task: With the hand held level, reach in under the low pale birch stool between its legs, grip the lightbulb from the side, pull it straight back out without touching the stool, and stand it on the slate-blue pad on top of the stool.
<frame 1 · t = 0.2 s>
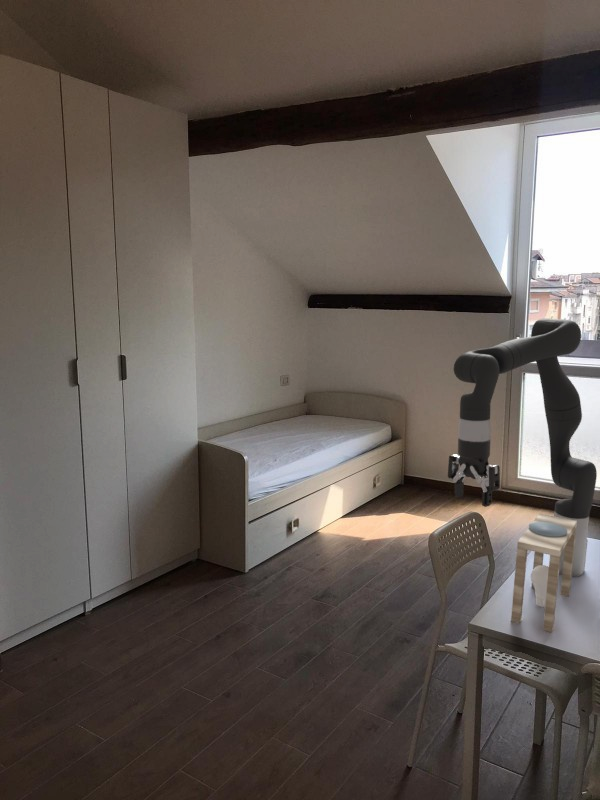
hand: (472, 501, 158), 29 cm above the table, tool pointing down, fingers open, 8 cm apart
lightbulb: (540, 607, 166), on the table
stool: (540, 606, 166), on the table
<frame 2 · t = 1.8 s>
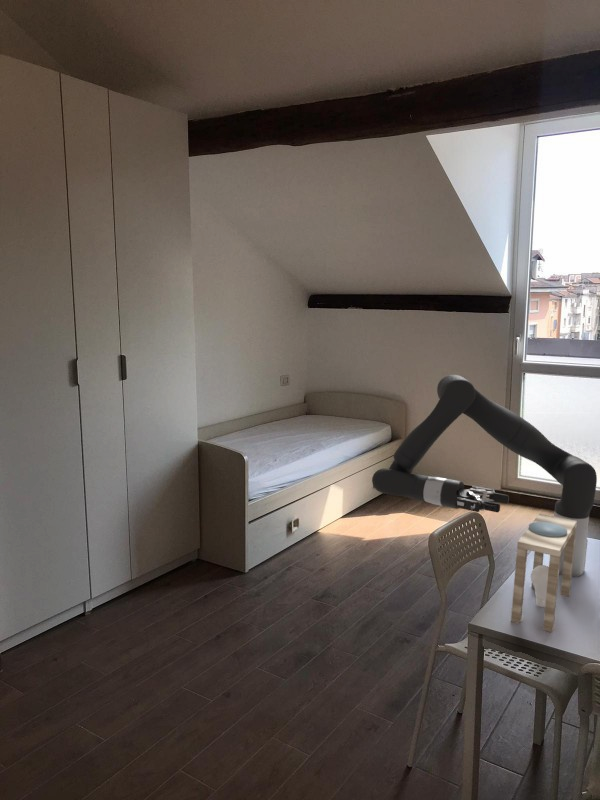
hand: (504, 503, 167), 25 cm above the table, tool horizontal, fingers open, 8 cm apart
nothing on the table moved.
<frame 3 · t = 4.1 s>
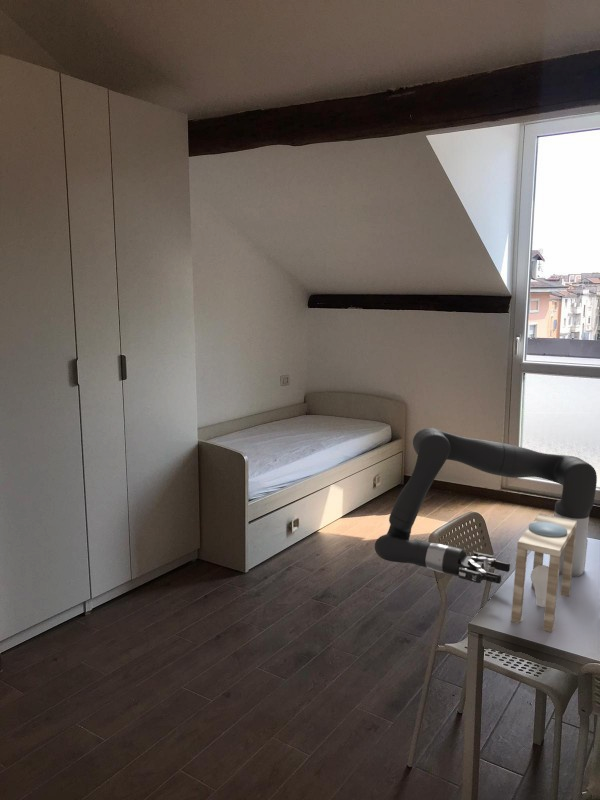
hand: (505, 573, 170), 6 cm above the table, tool horizontal, fingers open, 8 cm apart
nothing on the table moved.
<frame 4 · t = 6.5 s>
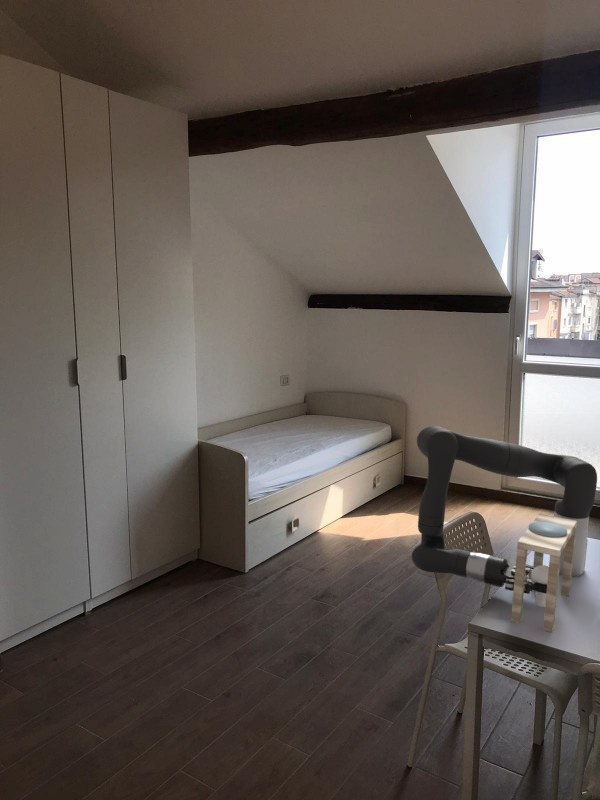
hand: (553, 585, 163), 7 cm above the table, tool horizontal, fingers closed on lightbulb, 5 cm apart
lightbulb: (540, 607, 166), on the table, touching gripper
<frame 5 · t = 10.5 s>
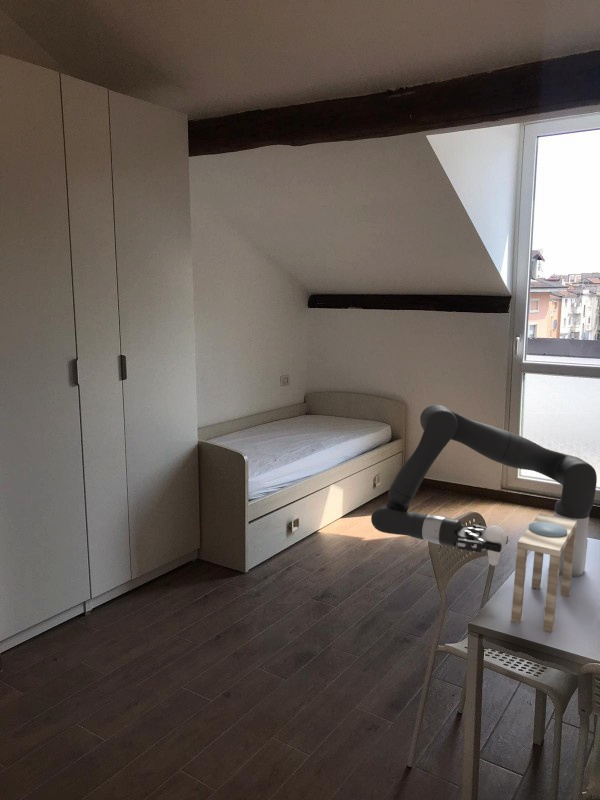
hand: (504, 544, 169), 14 cm above the table, tool horizontal, fingers closed on lightbulb, 5 cm apart
lightbulb: (493, 566, 171), point 8 cm above the table, touching gripper
when the fingers open (29 cm above the table, at t = 14.2 s): lightbulb drops 1 cm, resting on stool.
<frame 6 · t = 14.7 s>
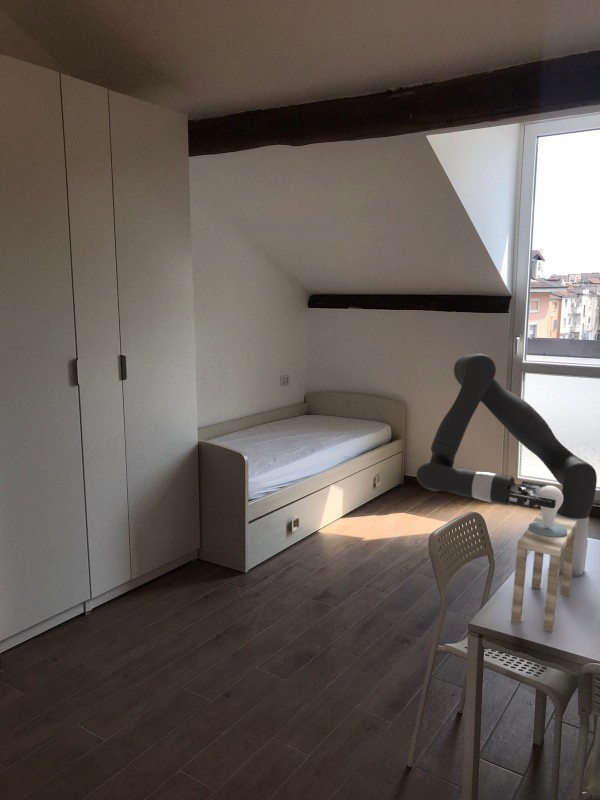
hand: (558, 499, 160), 29 cm above the table, tool horizontal, fingers open, 8 cm apart
lightbulb: (547, 528, 162), point 21 cm above the table, touching stool
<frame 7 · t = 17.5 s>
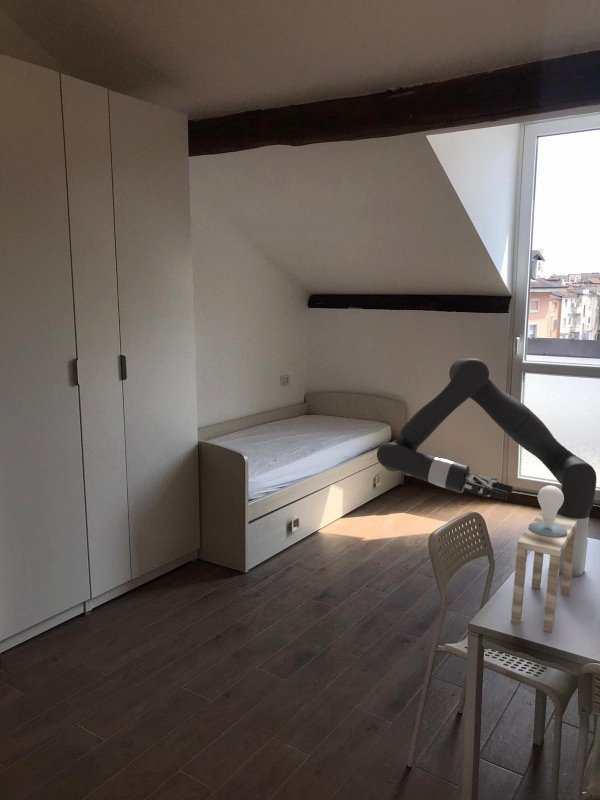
hand: (509, 493, 167), 28 cm above the table, tool horizontal, fingers open, 8 cm apart
nothing on the table moved.
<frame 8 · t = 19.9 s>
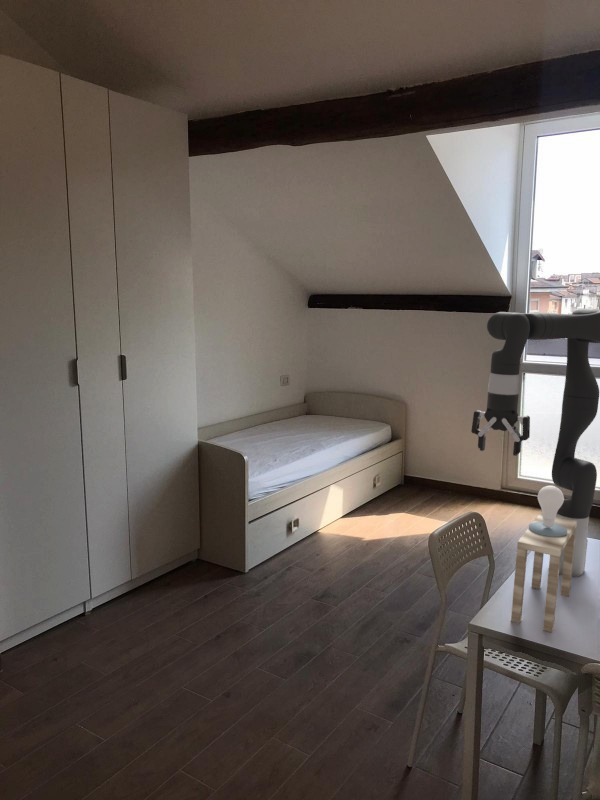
hand: (498, 452, 168), 38 cm above the table, tool pointing down, fingers open, 8 cm apart
nothing on the table moved.
at the end: lightbulb inside the target area (0.0 cm from its centre), point 20.9 cm above the table; lightbulb tilted 0°; the gripper is holding nothing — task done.
